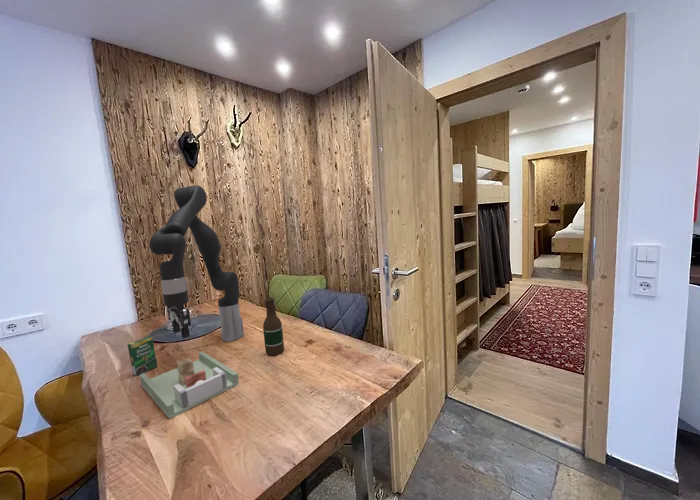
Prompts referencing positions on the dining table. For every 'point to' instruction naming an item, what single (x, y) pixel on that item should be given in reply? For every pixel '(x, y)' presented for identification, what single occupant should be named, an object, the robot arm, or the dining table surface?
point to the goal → (200, 389)
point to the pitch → (163, 384)
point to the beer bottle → (272, 330)
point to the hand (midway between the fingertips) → (181, 334)
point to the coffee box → (142, 355)
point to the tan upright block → (189, 373)
